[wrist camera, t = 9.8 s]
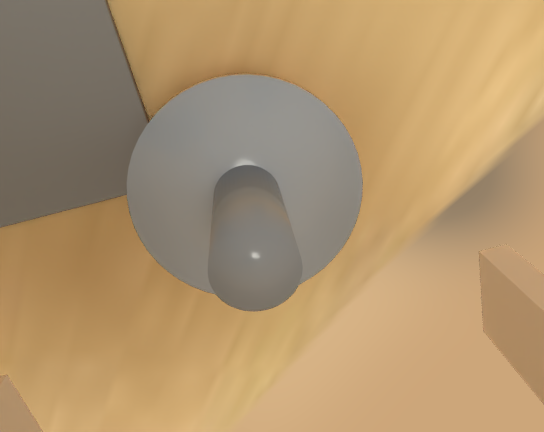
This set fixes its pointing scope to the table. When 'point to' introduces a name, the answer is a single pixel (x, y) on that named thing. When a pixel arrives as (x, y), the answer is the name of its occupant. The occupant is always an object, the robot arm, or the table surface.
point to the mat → (63, 108)
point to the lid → (244, 188)
